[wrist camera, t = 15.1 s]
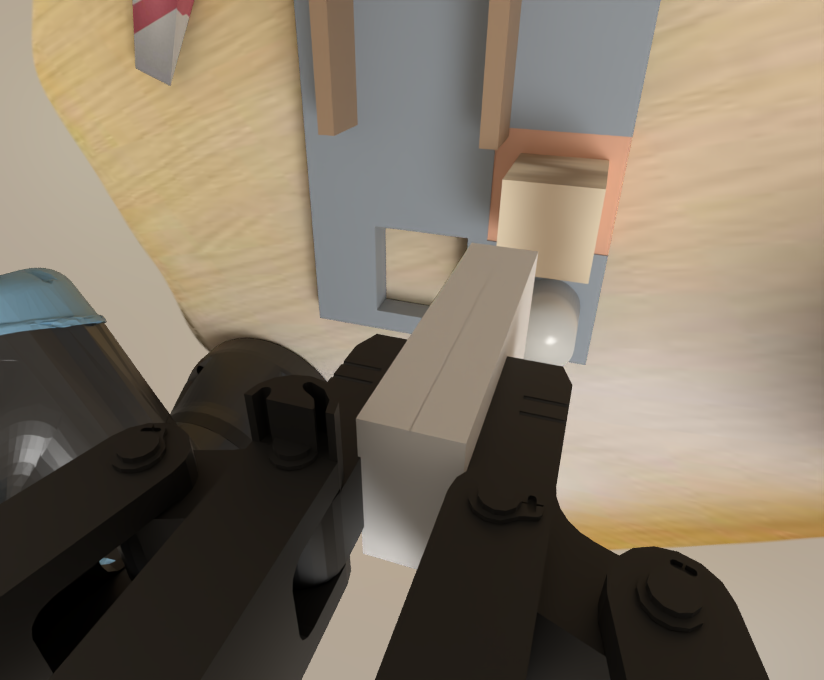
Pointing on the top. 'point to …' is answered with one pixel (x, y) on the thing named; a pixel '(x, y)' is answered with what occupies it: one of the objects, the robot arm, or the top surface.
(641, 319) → the top surface
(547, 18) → the slate deck with cubby
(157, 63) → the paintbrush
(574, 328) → the grey stone cylinder
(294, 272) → the top surface
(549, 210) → the maple cube
